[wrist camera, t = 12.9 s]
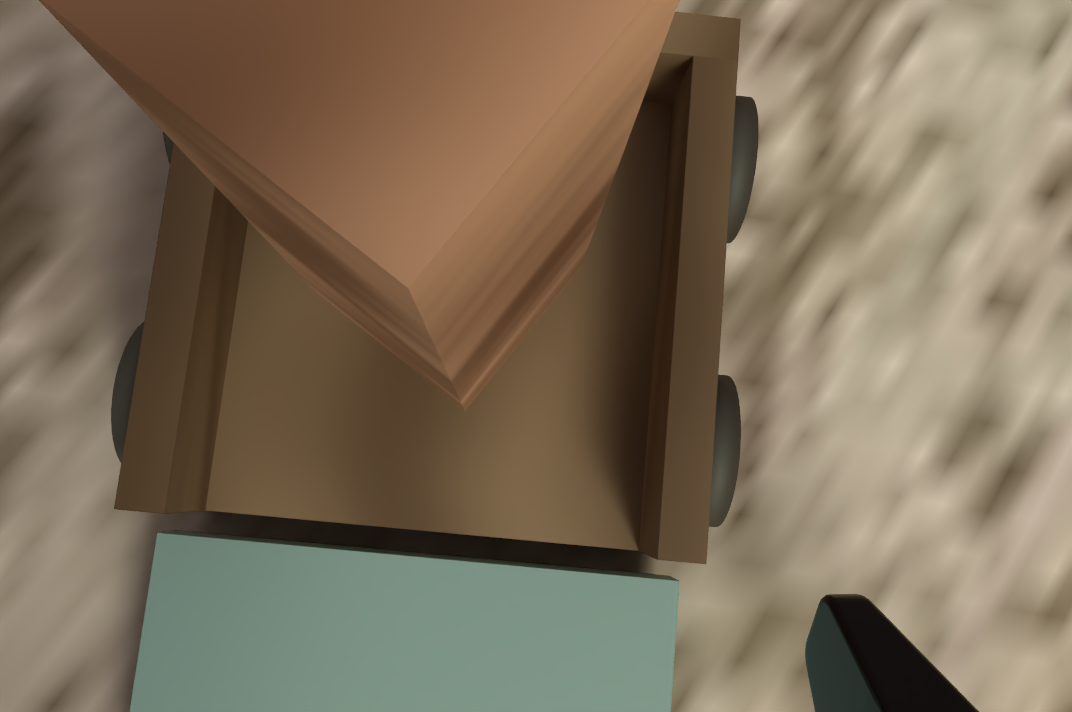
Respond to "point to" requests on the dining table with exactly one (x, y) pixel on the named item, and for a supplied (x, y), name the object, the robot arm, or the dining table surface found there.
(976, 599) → the dining table surface
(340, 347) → the cart
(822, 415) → the dining table surface
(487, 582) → the tailgate
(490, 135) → the brown square pillar
